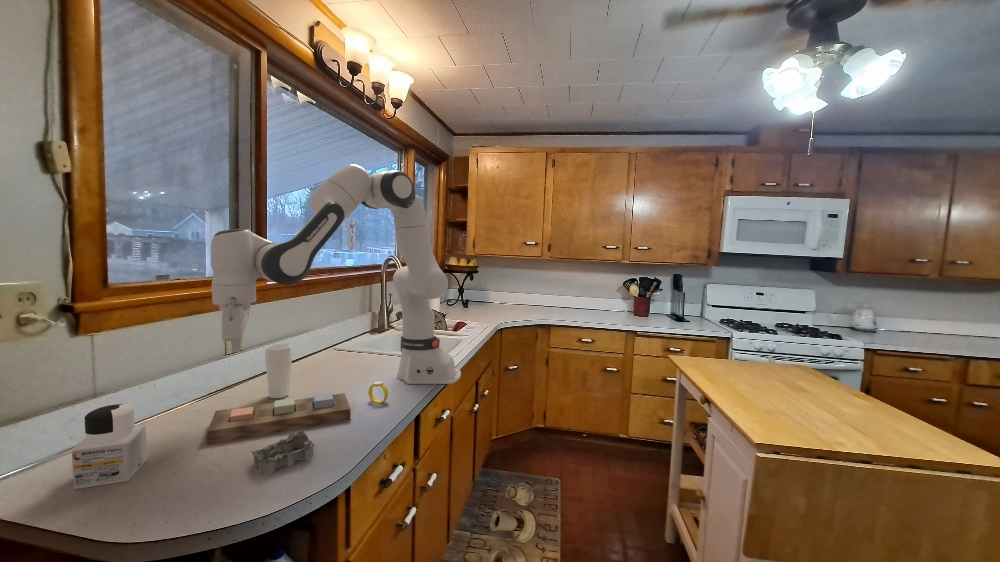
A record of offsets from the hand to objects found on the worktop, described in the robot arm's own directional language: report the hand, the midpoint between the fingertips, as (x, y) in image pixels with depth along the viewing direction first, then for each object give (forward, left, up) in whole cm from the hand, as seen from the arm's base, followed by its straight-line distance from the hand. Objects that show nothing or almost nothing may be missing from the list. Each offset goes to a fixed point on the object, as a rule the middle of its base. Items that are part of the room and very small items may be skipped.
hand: (237, 350), depth 95 cm
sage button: (-11, -2, -16) cm, 20 cm away
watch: (-29, -18, -19) cm, 39 cm away
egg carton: (-22, +14, -19) cm, 32 cm away
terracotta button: (-3, +3, -17) cm, 18 cm away
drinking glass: (+1, -17, -19) cm, 25 cm away
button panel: (-11, -2, -18) cm, 21 cm away
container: (+6, +24, -19) cm, 31 cm away
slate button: (-18, -7, -16) cm, 26 cm away
